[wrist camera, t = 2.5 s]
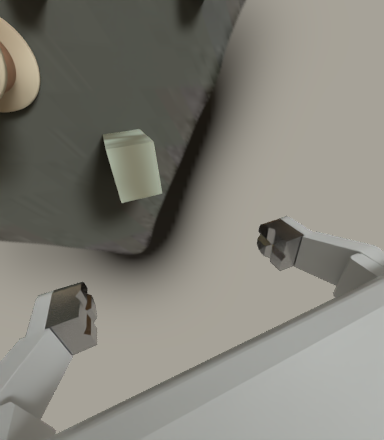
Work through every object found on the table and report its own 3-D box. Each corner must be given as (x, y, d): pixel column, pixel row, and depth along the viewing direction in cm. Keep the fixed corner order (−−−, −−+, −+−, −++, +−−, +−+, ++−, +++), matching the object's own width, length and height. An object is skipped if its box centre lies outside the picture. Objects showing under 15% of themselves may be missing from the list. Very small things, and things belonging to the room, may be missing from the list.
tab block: (115, 178, 25) (121, 203, 20) (102, 134, 23) (105, 149, 17) (147, 171, 26) (162, 193, 21) (139, 129, 24) (153, 141, 18)
